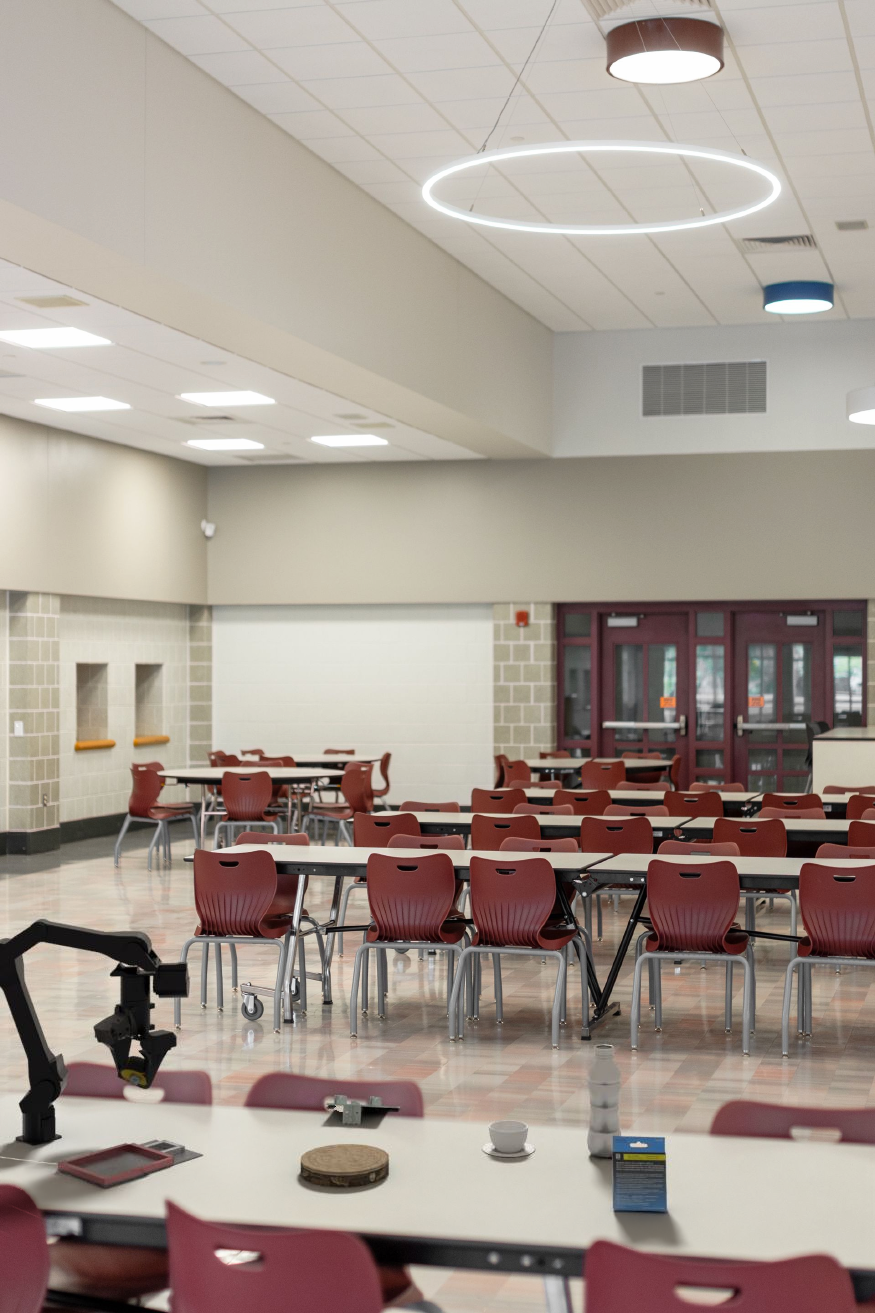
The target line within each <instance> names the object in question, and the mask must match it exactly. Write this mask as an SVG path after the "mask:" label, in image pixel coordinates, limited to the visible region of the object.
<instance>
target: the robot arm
mask: <svg viewBox="0 0 875 1313" xmlns="http://www.w3.org/2000/svg"><path fill="white" fill-rule="evenodd" d="M39 943H40V944H41V943H46V944H52V945H57V946H62V947H68V948H72V949H77V950H83V951H89V952H93V953H98V954H101V955H104V956H106V957H108V958H110V959H111V960H114V961H116V962H118V963H117V964H116V967H114V969H113V970H111V972H110V973H109V977H111V978H113V977H114V978H115V977H118V978H119V977H120V982H119V983H120V984H119V985H120V986H119V988H120V990H119V991H120V992H119V993H120V994H119V995H120V996H119V997H120V1001H119V1003H117V1004H115V1006H114V1010H113V1012H114V1013H113V1014H112V1015H109V1016H107V1017H105V1018H104V1019H102V1020H101V1021H99V1022H97V1023H96V1024H95V1025H93V1027H92V1028H93V1031H94V1038H95V1039H96V1040H97V1043H100V1044H103V1045H104V1046H106V1048H108V1050H109V1052H110V1053H111V1056H112V1058H113V1062H114V1065H115V1069H116V1072H117V1073H118V1072H119V1070H120V1069H121V1066H122V1063H123V1061H124V1060H125V1059H126V1058H128V1057H130V1052H131V1047H132V1042H133V1040H135V1041H138V1042H139V1046H140V1048H141V1049H139V1050H138V1051H137V1052H138V1053H139V1054H140V1055H141V1056H142V1058H144V1065H145V1078H146V1083H147V1084H151V1083H152V1084H153V1082H154V1080H155V1078H156V1075H157V1073H158V1071H159V1069H160V1066H161V1065H162V1062H163V1061H164V1059H165V1057H166V1056H167V1054H168V1052H169V1051H171V1050H172V1048H176V1047H177V1046H178V1045H177V1044H178V1042H177V1041H178V1036H177V1034H175V1033H174V1032H173V1031H170V1030H165V1029H158V1030H156V1024H154V1023H151V1010H153V1009H156V1003H155V1002H152V1001H151V977H152V993H153V994H155V996H158V999H181V998H182V999H186V998H189V997H190V987H191V986H190V985H191V984H190V983H191V982H190V981H191V979H190V978H191V977H190V975H189V967H188V966H189V965H188V962H187V961H179V962H165V963H164V962H163V961H162V959H161V958H160V957H159V955H158V954H157V953H156V951H155V950H154V949H153V943H152V939H150V937H149V935H148V934H147V933H146V932H143V931H139V930H138V931H137V930H136V931H135V930H134V931H133V930H130V931H129V930H121V931H104V930H99V929H98V930H97V929H92V928H88V927H82V926H76V925H72V924H71V925H70V924H67V923H61V922H57V921H56V922H55V921H50V920H48V919H47V918H39V919H36V920H35V921H34V922H33V923H32V924H30V926H28V927H27V928H25V929H24V930H22V931H21V932H19V933H17V934H16V935H14V936H13V937H12V938H11V937H10V938H9V937H5V938H1V939H0V989H1V990H2V992H3V995H4V997H5V999H6V1003H7V1006H8V1007H9V1011H10V1013H11V1016H12V1020H13V1023H14V1025H15V1027H16V1030H17V1033H18V1036H19V1039H20V1041H21V1045H22V1047H23V1049H24V1050H23V1051H24V1053H25V1056H26V1058H27V1071H28V1072H27V1073H28V1074H27V1075H28V1081H29V1090H28V1091H27V1092H26V1093H25V1095H24V1096H23V1097H22V1098H21V1099H20V1101H19V1102H18V1106H19V1109H20V1112H21V1114H22V1116H21V1117H22V1118H21V1119H22V1123H21V1124H22V1126H21V1127H22V1132H21V1133H22V1134H21V1135H19V1136H15V1141H19V1142H20V1143H21V1142H22V1143H24V1144H27V1145H30V1146H33V1147H34V1146H35V1147H36V1146H39V1145H42V1144H46V1143H49V1142H52V1141H57V1140H59V1139H62V1138H63V1135H61V1134H57V1133H56V1129H57V1126H56V1124H57V1123H56V1120H57V1119H56V1107H55V1104H53V1103H54V1102H55V1101H56V1100H57V1099H58V1098H60V1096H61V1094H62V1093H63V1091H64V1090H65V1088H66V1086H67V1083H68V1075H69V1073H70V1070H69V1069H68V1068H67V1066H66V1065H65V1060H64V1056H63V1053H60V1054H58V1055H56V1056H55V1054H54V1053H53V1052H52V1051H51V1049H50V1048H49V1046H48V1043H47V1039H46V1036H45V1034H44V1031H43V1029H42V1025H41V1023H40V1020H39V1017H38V1015H37V1012H36V1009H35V1007H34V1003H33V1000H32V998H31V995H30V992H29V989H28V985H27V984H26V980H25V963H24V957H23V954H25V953H27V952H28V951H29V950H30V949H32V948H33V947H35V946H37V945H38V944H39ZM125 965H127V966H125ZM154 1077H155V1078H154ZM153 1079H154V1080H153ZM152 1084H151V1085H152Z"/></svg>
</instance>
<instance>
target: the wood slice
mask: <svg viewBox="0 0 875 1313" xmlns="http://www.w3.org/2000/svg"><path fill="white" fill-rule="evenodd" d="M389 1158H390V1155H389V1153H388V1152H387V1151H385V1150H384V1149H382V1148H380V1147H376V1146H371V1145H368V1144H358V1143H356V1144H355V1143H342V1144H341V1143H339V1144H329V1145H324V1146H319V1147H315V1148H313V1149H311V1150H308V1151H306V1152H305V1153H303V1154H302V1155H301V1156H300V1177H301V1178H302V1180H303V1181H305V1182H306V1183H309V1184H311V1185H313V1186H318V1187H323V1188H330V1189H331V1188H332V1189H353V1188H362V1187H367V1186H370V1185H374V1184H377V1183H379V1182H381V1181H384V1180H385V1179H386V1178H388V1176H389V1174H390V1159H389Z"/></svg>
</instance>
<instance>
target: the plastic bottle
mask: <svg viewBox="0 0 875 1313" xmlns="http://www.w3.org/2000/svg"><path fill="white" fill-rule="evenodd" d="M593 1049H594V1050H593V1058H595V1059H594V1060H593V1062H592V1063H591V1065H590V1067H589V1069H588V1070H587V1075H586V1077H587V1086H588V1092H589V1094H588V1095H589V1105H590V1107H589V1108H590V1114H589V1127H588V1131H587V1139H586V1140H587V1141H586V1143H587V1149H588V1151H589V1153H590V1154H591V1155H592V1156H595V1157H599V1158H612V1151H613V1136H622V1132H621V1127H620V1126H621V1125H620V1117H619V1116H620V1115H619V1114H620V1113H619V1108H620V1107H619V1105H620V1092H621V1085H622V1084H621V1083H622V1072H621V1070H620V1068H619V1067H618V1065H617V1064H616V1062H615V1061H614V1058H615V1053H614V1051H615V1050H614V1046H613V1045H611V1044H596V1045H595V1046H593Z"/></svg>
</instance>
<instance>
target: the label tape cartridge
mask: <svg viewBox="0 0 875 1313" xmlns="http://www.w3.org/2000/svg"><path fill="white" fill-rule="evenodd" d="M638 1142H639V1143H640V1144H643V1145H647V1146H631V1144H634V1145H635V1144H637V1143H638ZM611 1158H612V1159H611V1162H612V1164H611V1167H612V1209H613V1210H614V1211H629V1212H631V1211H632V1212H633V1211H637V1212H638V1211H640V1212H641V1211H642V1212H643V1211H645V1212H646V1211H647V1212H649V1211H650V1212H661V1213H662V1212H667V1210H668V1198H667V1197H668V1196H667V1195H668V1194H667V1193H668V1191H667V1190H668V1188H667V1183H668V1182H667V1152H666V1137H664V1136H663V1137H662V1136H659V1137H658V1136H633V1135H632V1136H630V1135H629V1136H627V1135H624V1136H623V1135H621V1136H613V1151H612V1157H611Z"/></svg>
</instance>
